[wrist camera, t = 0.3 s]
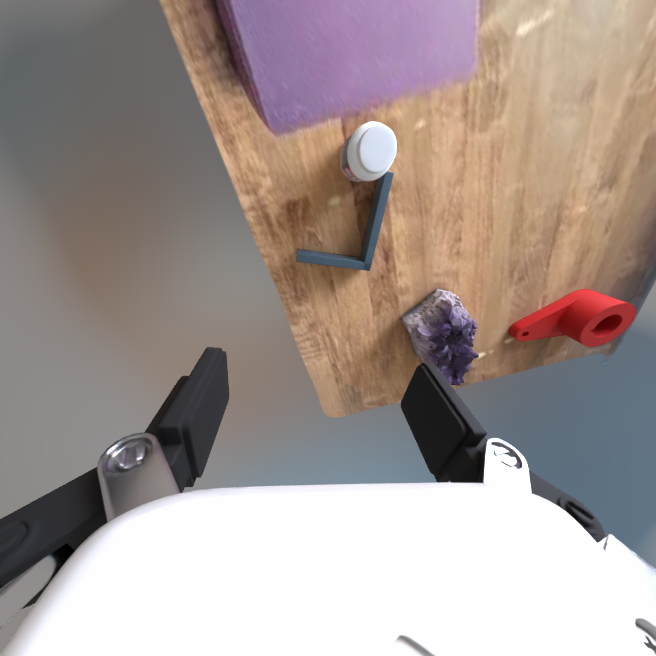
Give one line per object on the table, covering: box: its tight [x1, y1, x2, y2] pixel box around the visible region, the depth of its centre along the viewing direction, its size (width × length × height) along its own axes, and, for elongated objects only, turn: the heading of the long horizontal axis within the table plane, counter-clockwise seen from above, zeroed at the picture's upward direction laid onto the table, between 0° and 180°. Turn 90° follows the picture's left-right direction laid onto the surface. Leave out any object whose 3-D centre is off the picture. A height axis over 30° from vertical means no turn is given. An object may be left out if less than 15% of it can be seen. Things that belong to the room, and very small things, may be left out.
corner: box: [296, 172, 394, 271], centre depth 34 cm, size 13×12×3 cm
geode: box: [401, 289, 479, 385], centre depth 44 cm, size 20×12×10 cm, turn 28°
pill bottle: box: [340, 122, 397, 182], centre depth 28 cm, size 5×5×10 cm
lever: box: [508, 289, 636, 347], centre depth 46 cm, size 18×9×7 cm, turn 110°
